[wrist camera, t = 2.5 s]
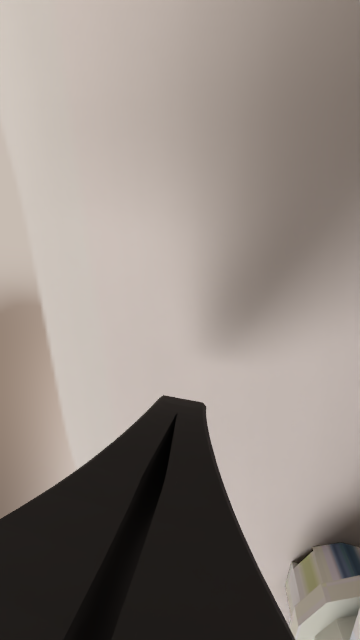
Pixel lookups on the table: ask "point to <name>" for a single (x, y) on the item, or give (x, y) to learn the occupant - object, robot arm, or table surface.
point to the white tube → (325, 594)
